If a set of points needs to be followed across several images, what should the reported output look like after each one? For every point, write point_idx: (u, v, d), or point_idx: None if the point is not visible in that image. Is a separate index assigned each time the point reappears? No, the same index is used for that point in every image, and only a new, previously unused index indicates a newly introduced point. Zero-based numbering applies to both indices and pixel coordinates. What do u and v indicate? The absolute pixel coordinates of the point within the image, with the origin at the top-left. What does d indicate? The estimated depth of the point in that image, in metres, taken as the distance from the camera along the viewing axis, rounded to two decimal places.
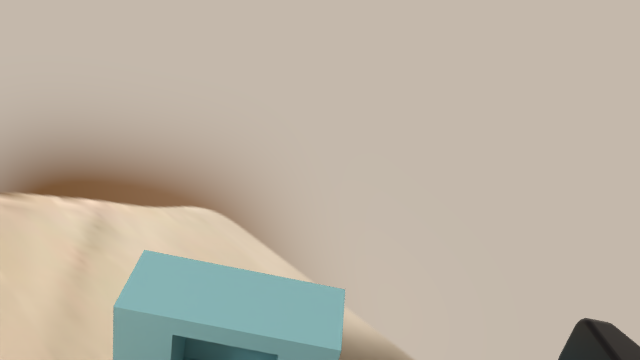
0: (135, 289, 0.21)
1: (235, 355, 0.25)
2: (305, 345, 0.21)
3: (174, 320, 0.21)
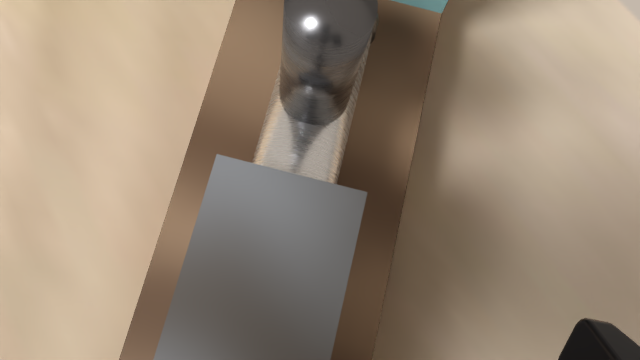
0: None
1: None
2: None
3: None
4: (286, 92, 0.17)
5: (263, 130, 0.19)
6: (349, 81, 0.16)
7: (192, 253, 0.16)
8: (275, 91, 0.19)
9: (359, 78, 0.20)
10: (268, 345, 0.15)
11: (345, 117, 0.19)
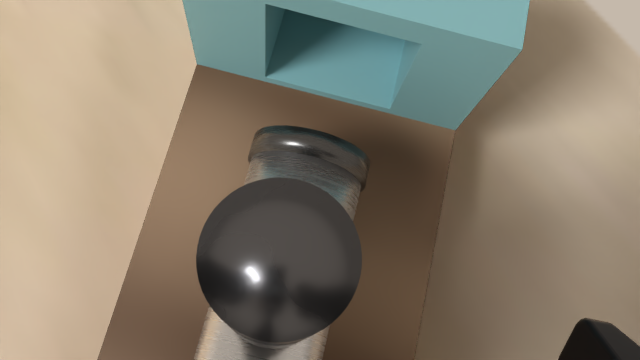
0: None
1: None
2: (466, 37, 0.13)
3: None
4: None
5: (200, 344, 0.13)
6: None
7: None
8: None
9: None
10: None
11: None
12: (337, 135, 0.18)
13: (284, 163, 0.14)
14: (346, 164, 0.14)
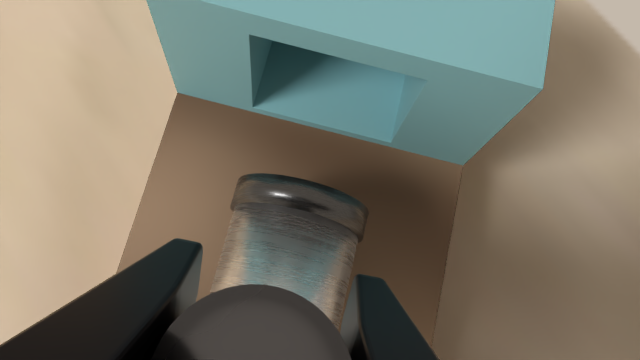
0: None
1: None
2: (479, 74, 0.12)
3: (248, 15, 0.12)
4: None
5: None
6: None
7: None
8: None
9: (336, 324, 0.12)
10: None
11: None
12: (332, 172, 0.16)
13: (270, 218, 0.12)
14: (341, 218, 0.12)
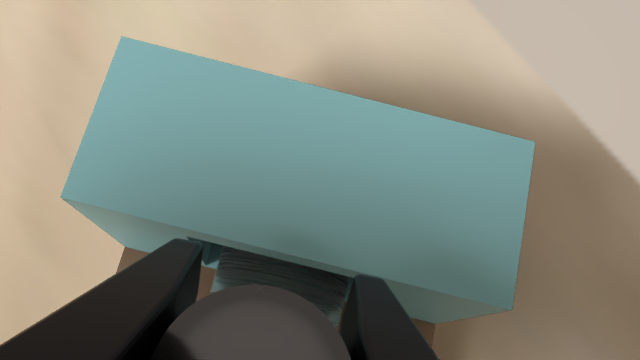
0: (103, 149, 0.10)
1: None
2: (440, 292, 0.10)
3: (181, 228, 0.10)
4: None
5: None
6: None
7: None
8: None
9: (336, 323, 0.12)
10: None
11: None
12: None
13: None
14: None
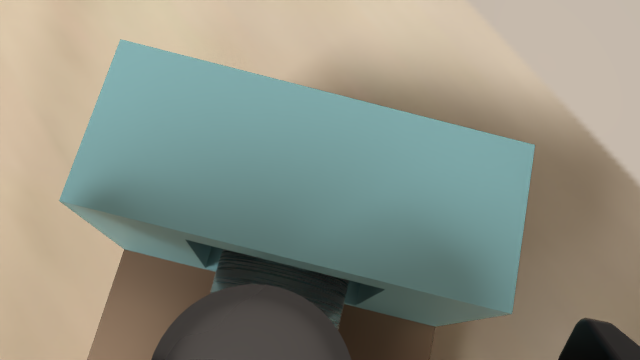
0: (102, 153, 0.10)
1: None
2: (440, 296, 0.10)
3: (180, 232, 0.10)
4: None
5: None
6: None
7: None
8: None
9: (336, 323, 0.12)
10: None
11: None
12: None
13: None
14: None
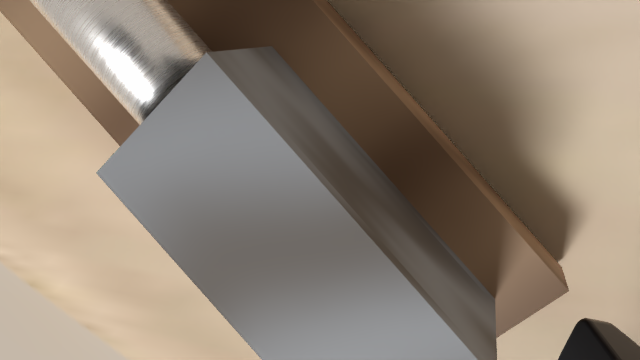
0: None
1: None
2: None
3: None
4: None
5: None
6: None
7: (175, 254, 0.15)
8: None
9: None
10: (293, 249, 0.14)
11: None
12: None
13: None
14: None
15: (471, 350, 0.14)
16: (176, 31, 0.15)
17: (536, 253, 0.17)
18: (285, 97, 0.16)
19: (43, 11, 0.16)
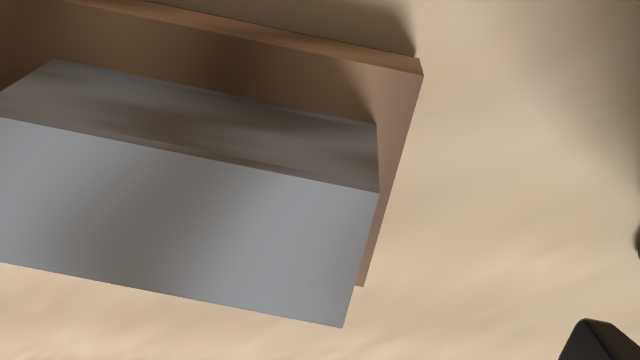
0: None
1: None
2: None
3: None
4: None
5: None
6: None
7: (88, 274, 0.16)
8: None
9: None
10: (160, 208, 0.15)
11: None
12: None
13: None
14: None
15: (343, 184, 0.15)
16: None
17: (377, 65, 0.18)
18: (78, 94, 0.16)
19: None
